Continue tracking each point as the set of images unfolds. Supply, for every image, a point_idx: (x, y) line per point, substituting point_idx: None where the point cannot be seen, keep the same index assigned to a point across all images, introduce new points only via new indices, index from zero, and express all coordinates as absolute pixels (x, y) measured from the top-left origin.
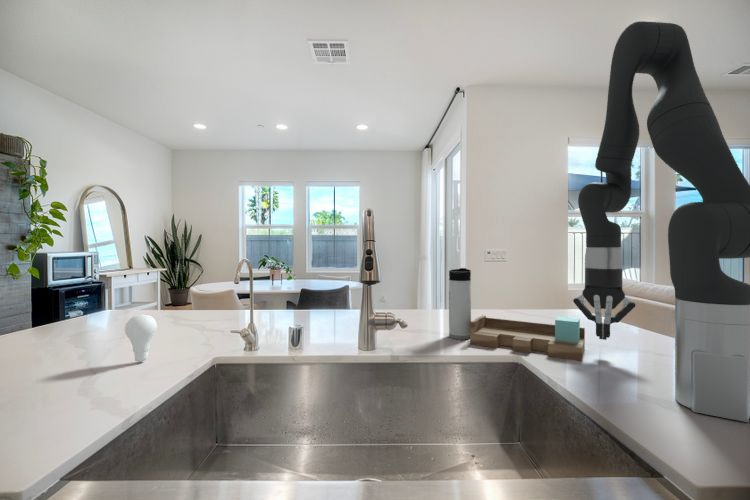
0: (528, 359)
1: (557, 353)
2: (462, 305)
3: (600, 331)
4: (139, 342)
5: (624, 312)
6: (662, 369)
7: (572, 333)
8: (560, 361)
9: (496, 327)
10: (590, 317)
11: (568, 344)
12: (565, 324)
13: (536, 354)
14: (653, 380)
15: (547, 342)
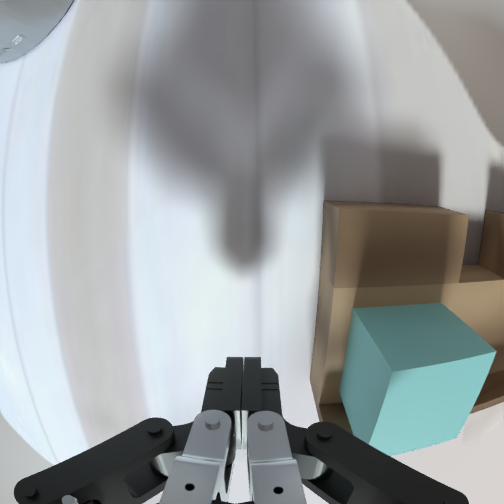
0: (481, 127)
1: (418, 207)
2: None
3: (255, 380)
4: None
5: (92, 464)
6: (68, 259)
7: (393, 328)
8: (397, 152)
9: None
10: (321, 432)
11: (396, 248)
12: (445, 348)
13: (469, 208)
14: (92, 103)
15: (460, 277)
